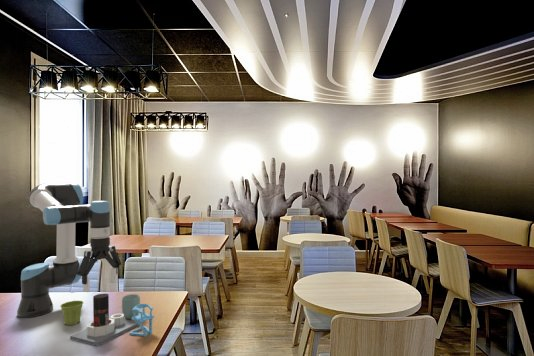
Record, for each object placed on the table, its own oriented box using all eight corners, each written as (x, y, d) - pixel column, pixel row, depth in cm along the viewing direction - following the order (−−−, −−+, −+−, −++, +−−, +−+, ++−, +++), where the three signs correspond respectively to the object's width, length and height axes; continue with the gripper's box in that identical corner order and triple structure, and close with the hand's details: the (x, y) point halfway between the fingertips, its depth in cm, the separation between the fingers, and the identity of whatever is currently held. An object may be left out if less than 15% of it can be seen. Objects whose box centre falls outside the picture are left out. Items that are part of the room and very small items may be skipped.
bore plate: (70, 338, 146) (70, 327, 146) (113, 319, 166) (113, 309, 166) (97, 345, 140) (97, 334, 140) (139, 325, 160) (139, 314, 160)
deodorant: (96, 328, 153) (96, 293, 154) (110, 327, 154) (110, 293, 154) (91, 334, 148) (90, 298, 148) (105, 333, 148) (105, 297, 148)
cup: (133, 321, 164) (133, 299, 164) (118, 320, 165) (118, 299, 165) (143, 315, 171) (142, 294, 171) (128, 314, 173) (128, 293, 173)
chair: (141, 339, 145) (141, 309, 145) (128, 334, 150) (128, 306, 150) (156, 332, 152) (156, 304, 152) (143, 328, 156) (143, 300, 156)
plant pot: (59, 328, 157) (59, 308, 157) (61, 321, 166) (60, 302, 166) (83, 324, 162) (83, 305, 162) (83, 317, 170) (83, 299, 170)
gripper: (80, 242, 138) (80, 297, 138) (129, 233, 161) (129, 280, 161) (67, 241, 141) (67, 294, 141) (117, 232, 164) (117, 278, 164)
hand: (100, 286), depth 151 cm, fingers open, 13 cm apart
